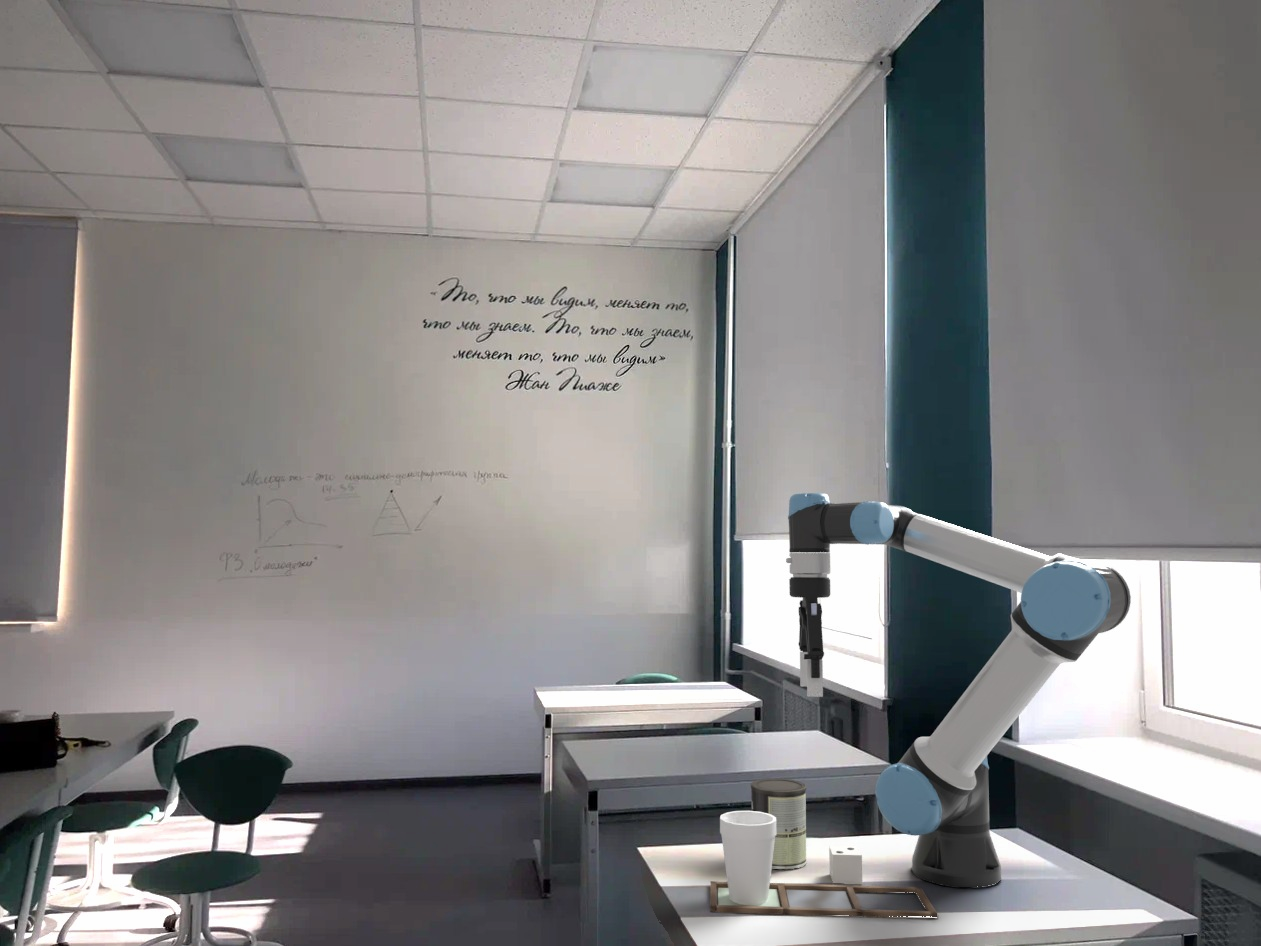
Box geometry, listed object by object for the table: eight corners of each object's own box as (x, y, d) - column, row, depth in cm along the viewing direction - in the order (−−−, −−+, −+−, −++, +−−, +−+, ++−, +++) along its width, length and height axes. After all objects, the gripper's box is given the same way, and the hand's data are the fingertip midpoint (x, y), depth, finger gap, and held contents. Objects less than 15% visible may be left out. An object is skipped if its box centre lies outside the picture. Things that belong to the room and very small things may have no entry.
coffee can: (742, 864, 182) (741, 786, 183) (764, 850, 190) (763, 776, 192) (795, 874, 176) (794, 793, 178) (815, 859, 185) (814, 782, 186)
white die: (858, 875, 176) (857, 846, 176) (862, 885, 171) (861, 854, 171) (829, 874, 176) (829, 845, 177) (833, 884, 171) (832, 854, 172)
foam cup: (713, 904, 160) (713, 822, 161) (728, 886, 169) (727, 808, 170) (771, 911, 157) (770, 827, 158) (782, 893, 166) (782, 813, 167)
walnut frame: (920, 892, 167) (920, 887, 167) (937, 919, 155) (937, 913, 155) (710, 886, 170) (710, 881, 170) (710, 912, 157) (710, 906, 157)
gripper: (784, 574, 197) (785, 682, 195) (795, 577, 172) (796, 700, 171) (822, 574, 197) (823, 682, 195) (838, 577, 172) (840, 701, 170)
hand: (811, 691), depth 183 cm, fingers open, 13 cm apart
